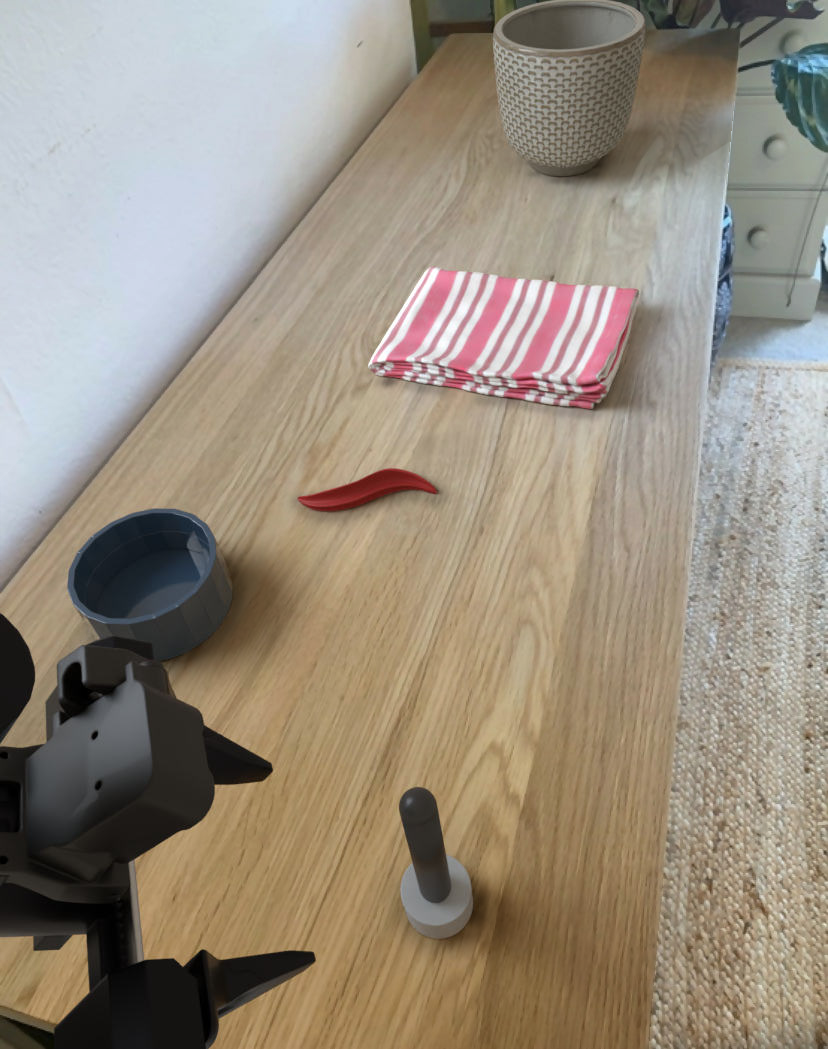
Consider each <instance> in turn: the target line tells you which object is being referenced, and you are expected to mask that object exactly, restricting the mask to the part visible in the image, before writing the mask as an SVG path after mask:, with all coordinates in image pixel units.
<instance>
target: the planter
mask: <svg viewBox="0 0 828 1049" xmlns="http://www.w3.org/2000/svg"><path fill="white" fill-rule="evenodd" d="M492 33H493V34H492V47H493V48H492V50H493V52H492V53H493V63H494V74H495V86H496V95H497V102H498V103H497V104H498V110H499V118H500V122H501V127H502V131H503V134H504V137H505V139H506V142H507V144H508V145H509V147H510V148H511V149H512V150H513V151H514V152H515V154H517V155H518V156H519V157H521V158H522V159H523V160H526V161H527V162H528V164H529V166H530V167H531V168H532V169H533V170H535V171H536V172H537V173H539V174H542V175H546V176H550V177H571V176H576V175H580V174H583V173H586V172H588V171H590V170H592V169H593V168H594V167H595V166H596V165H597V164H598V162H600V159H601V158H603V157H604V156H606V155H608V154H609V153H610V152H612V151H613V150H614V149H615V148H616V147H617V146H618V145H619V144H620V142H621V141H622V139H623V138H624V135H625V133H626V131H627V128H628V125H629V123H630V120H631V116H632V112H633V107H634V103H635V97H636V94H637V89H638V83H639V78H640V72H641V66H642V59H643V51H644V45H645V39H646V37H645V36H646V19H645V17H644V15H643V14H642V13H641V12H640V11H639V10H638V9H636V8H635V7H634V6H631V5H629V4H626V3H623V2H620V1H615V0H545V1H542V2H536V3H532V4H529V5H526V6H523V7H520V8H517V9H515V10H513V11H510V12H509V13H507V14H506V15H503V17H502V18H500V19H499V20H498V21H497V22H496V24H494V28H493V32H492Z"/></svg>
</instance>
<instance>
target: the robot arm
mask: <svg viewBox="0 0 828 1049" xmlns="http://www.w3.org/2000/svg"><path fill="white" fill-rule="evenodd" d="M33 659H34V658H33V656H32V652H31V649H30V647H29V645H28V644H27V642H26V641H25V639H24V636H23V635H22V634H21V632H20V631H19V630H18V629H17V628H16V627H15V625H14V624H12V622H11V621H10V620H9V619H8V618H7V617H6V616H5V615H4V614H3V613H1V612H0V938H21V937H26V938H27V937H32V944H33V946H32V947H33V949H32V950H33V952H43V951H44V952H45V951H60V950H61V949H62V948H63V947H64V945H66V943H67V942H69V940H70V939H71V938H72V937H73V936H81V935H83V936H84V935H86V956H87V974H88V975H87V976H88V990H89V991H88V993H87V994H86V995H85V996H84V997H83V998H82V999H81V1000H80V1001H79V1002H78V1003H77V1004H76V1005H75V1006H74V1007H73V1008H72V1009H71V1010H70V1011H69V1012H68V1013H67V1014H66V1015H65V1016H64V1017H63V1018H62V1019H61V1020H60V1021H59V1023H57V1024H56V1025H55V1026H54V1027H53V1040H54V1042H53V1043H54V1049H210V1048H211V1047H212V1046H213V1045H214V1043H215V1042H216V1039H217V1036H218V1034H219V1030H220V1019H222V1018H223V1017H225V1016H226V1015H228V1014H230V1013H232V1012H234V1011H235V1010H237V1009H239V1008H241V1007H243V1006H244V1005H246V1004H248V1003H250V1002H251V1001H253V1000H255V999H257V998H259V997H260V996H263V995H264V994H266V993H268V992H269V991H272V990H273V989H275V988H277V987H278V986H280V985H282V984H284V983H285V982H287V981H289V980H291V979H293V978H295V977H296V976H298V975H300V974H302V973H303V972H305V971H306V970H308V969H309V968H310V967H311V966H312V965H313V964H315V963H316V962H317V959H316V954H315V952H314V951H313V950H312V951H311V950H295V949H294V950H293V949H292V950H291V949H290V950H281V951H274V952H267V953H261V954H253V955H252V954H251V955H246V956H245V955H244V956H239V957H237V956H236V957H231V958H224V959H223V958H222V959H220V958H218V957H216V956H214V955H213V954H212V953H211V952H209V951H208V950H207V949H200V950H199V951H198V952H196V954H195V955H194V956H192V957H191V959H189V960H188V961H187V962H186V963H185V964H184V965H181V963H179V962H178V960H176V959H175V958H174V957H169V958H153V959H152V958H151V959H145V954H144V943H143V941H144V940H143V933H142V932H143V931H142V922H141V921H142V920H141V912H140V910H141V909H140V899H139V888H138V880H137V870H136V859H138V858H139V857H141V856H143V855H144V854H146V853H147V852H149V851H151V850H152V849H154V848H155V847H157V846H158V845H160V844H162V843H163V842H165V841H166V840H168V839H170V838H171V837H173V836H174V835H176V834H178V833H179V832H183V831H188V830H190V829H191V828H193V827H195V826H197V825H198V824H199V823H200V822H202V821H203V820H204V818H206V816H207V815H208V813H209V812H210V810H211V808H212V806H213V803H214V801H215V795H216V787H215V786H235V785H243V784H244V785H245V784H253V783H261V782H264V781H266V780H267V779H268V778H269V777H270V775H272V773H273V772H274V767H273V764H272V763H271V762H270V761H269V760H267V759H266V758H264V757H262V756H259V755H258V754H256V753H255V752H253V751H251V750H249V749H247V748H246V747H243V745H241V744H239V743H236V742H235V741H233V740H232V739H230V738H228V737H226V736H224V735H222V734H220V733H219V732H217V731H216V730H213V728H211V727H209V726H207V725H206V724H205V721H204V717H203V714H202V712H201V711H200V709H199V708H197V707H196V706H193V705H192V704H189V703H187V702H185V701H182V700H181V699H179V698H177V695H176V693H175V690H174V689H173V687H172V683H171V680H170V675H169V671H168V670H167V669H166V667H165V666H164V664H163V662H162V661H158V660H154V655H153V647H152V643H149V642H146V641H141V640H136V639H131V638H125V637H120V636H115V635H111V636H108V637H105V638H102V639H98V640H96V639H95V640H92V641H91V642H89V643H87V644H81V645H80V646H78V647H77V648H75V649H73V651H71V652H69V653H68V654H67V655H65V656H64V657H62V658H61V659H60V660H58V662H57V663H56V684H57V685H56V686H55V688H54V689H53V691H52V692H51V693H50V695H49V696H48V698H47V699H46V701H45V702H44V703H45V737H46V742H45V743H40V744H34V745H29V746H23V747H16V746H8V745H1V744H2V743H3V741H4V740H5V738H6V737H7V735H8V734H9V732H10V731H11V729H12V728H13V726H14V725H15V723H16V722H17V720H18V719H19V718H20V716H21V714H22V712H23V711H24V710H25V708H26V706H27V705H28V704H29V702H30V701H31V698H32V696H33V691H34V687H35V683H36V666H35V663H34V660H33Z"/></svg>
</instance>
